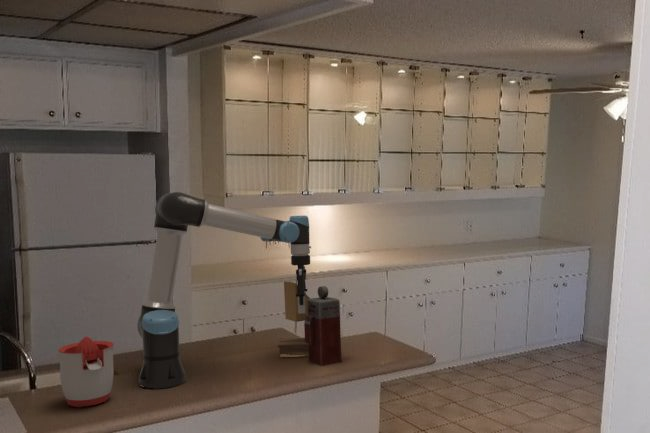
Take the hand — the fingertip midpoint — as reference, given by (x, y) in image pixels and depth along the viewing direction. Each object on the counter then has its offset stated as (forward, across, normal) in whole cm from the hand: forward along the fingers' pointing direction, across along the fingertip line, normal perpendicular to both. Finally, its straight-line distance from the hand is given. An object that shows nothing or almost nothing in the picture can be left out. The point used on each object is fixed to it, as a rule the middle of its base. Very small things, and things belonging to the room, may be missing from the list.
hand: (302, 310), depth 233 cm
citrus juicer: (+17, -53, +63) cm, 84 cm away
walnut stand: (+17, 0, 0) cm, 17 cm away
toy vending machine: (+17, -14, -7) cm, 23 cm away
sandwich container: (+3, +2, -2) cm, 4 cm away
